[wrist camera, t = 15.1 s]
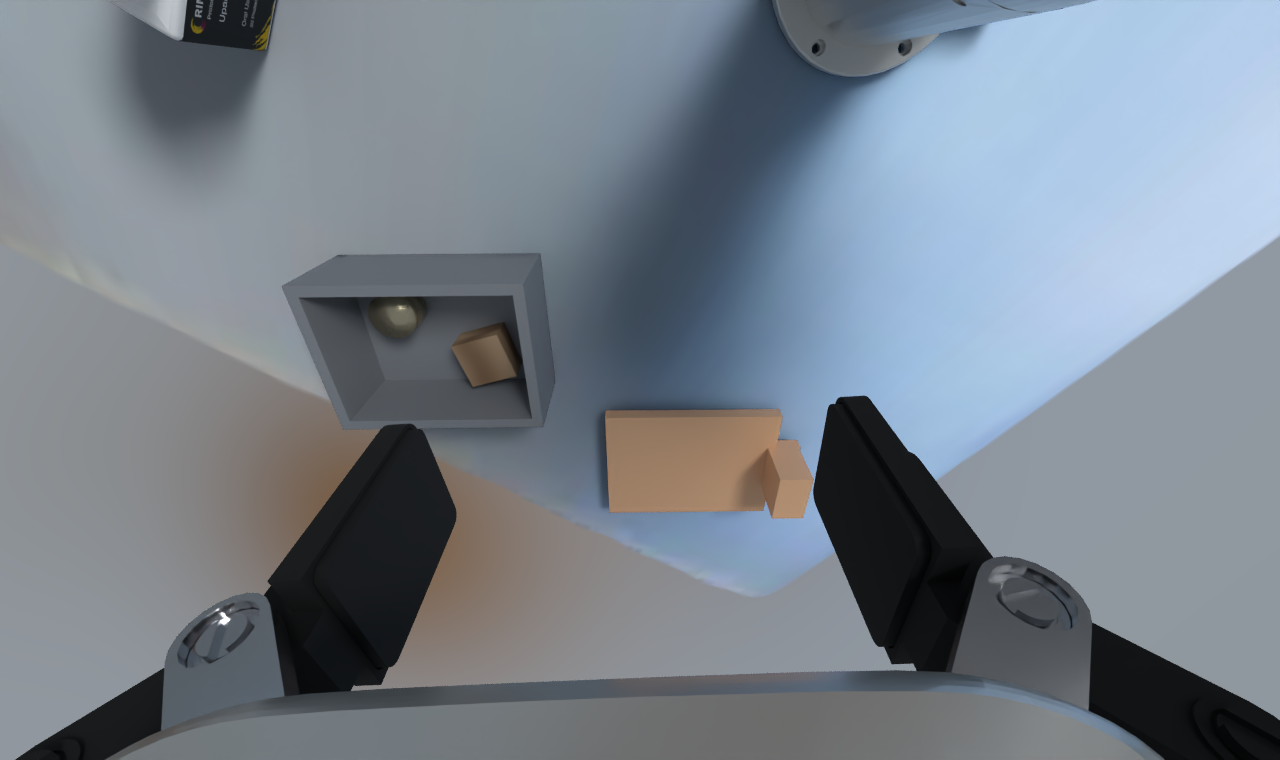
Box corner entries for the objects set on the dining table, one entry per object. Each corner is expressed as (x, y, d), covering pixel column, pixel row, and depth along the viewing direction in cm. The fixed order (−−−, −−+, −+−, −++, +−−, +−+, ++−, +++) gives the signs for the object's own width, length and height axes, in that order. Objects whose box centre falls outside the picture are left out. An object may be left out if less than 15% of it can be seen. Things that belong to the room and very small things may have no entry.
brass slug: (420, 284, 37) (408, 294, 35) (432, 324, 39) (421, 337, 37) (375, 285, 37) (361, 296, 35) (389, 326, 39) (376, 338, 37)
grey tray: (540, 253, 37) (522, 284, 31) (555, 381, 43) (543, 426, 37) (338, 255, 37) (281, 286, 31) (382, 383, 43) (343, 429, 37)
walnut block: (503, 321, 39) (496, 334, 37) (522, 361, 41) (516, 376, 39) (460, 333, 40) (450, 346, 37) (481, 372, 42) (473, 386, 39)
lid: (800, 401, 45) (824, 446, 40) (779, 494, 52) (798, 544, 46) (606, 403, 45) (602, 448, 39) (610, 496, 52) (607, 546, 46)
